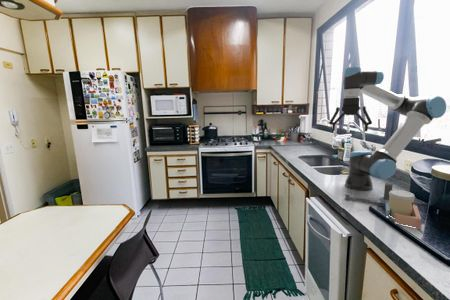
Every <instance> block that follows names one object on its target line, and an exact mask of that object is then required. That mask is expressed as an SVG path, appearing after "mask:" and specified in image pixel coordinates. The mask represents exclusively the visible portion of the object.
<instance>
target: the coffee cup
mask: <svg viewBox="0 0 450 300" xmlns="http://www.w3.org/2000/svg"><path fill="white" fill-rule="evenodd" d="M415 199H416V196H415V194H414V193H412V192H410V191H408V190H404V189H403V190H402V189H392V190H391V191H390V192H389V208H390V214H389V215H390V216H392V217H393V218H395V213H396V214H402V215H407V216H412V214H411V213H412V208H413V204H414V202H415ZM390 216H389V217H390Z"/></svg>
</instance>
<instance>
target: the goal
mask: <svg viewBox="0 0 450 300" xmlns="http://www.w3.org/2000/svg"><path fill="white" fill-rule="evenodd" d="M395 222H397V223H399V224H403V225H408V226H412V227H416V228H420V229H421V227H422V217H421V214H420V211H419V208H418V205H417V204H414V203H413V208H412V213H411V216H407V215H402V214H396V213H395V220H394V223H395Z"/></svg>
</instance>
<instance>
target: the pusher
mask: <svg viewBox="0 0 450 300" xmlns="http://www.w3.org/2000/svg"><path fill="white" fill-rule="evenodd" d="M393 187H394V186H393V183H388V182H387V183H386V182H384V192H383V197H380V198H379V202H380V203H385V206H384V208H385V217H386V216H388V217H389V218H390V216H389V214H390V208H389V192H390V191H391V190H393Z"/></svg>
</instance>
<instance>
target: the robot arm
mask: <svg viewBox="0 0 450 300" xmlns="http://www.w3.org/2000/svg"><path fill="white" fill-rule="evenodd" d="M343 77H344V78H343V80H342V85H343V100H342V107H339V106H338V107H336V109H335V112H334V114H333V116H332V117H331V119H330V121H329V122H328V124H329V125H331V126H332V132H334V135H333V137H334V138H337V130H338V125H337V123H338V122H339V121H340V120H341V119H342V118H344V116H356V117H357V118H358V119H359V120H360V122H362V123H363V125H362V126H363V127H362V139H365V137H366V136H365V134H366V132H367V131H368V129H369V125H372V124H373V122H372V119H371V118H370V116H369V114H368V111H367V107H366V106H360V98H359V97H360V96H361V95H360V94H363V95H366V96H367V97H369V98H372V99H373V100H376V101H377V102H379V103H382V104H383V105H385V106H387V107H388V109H390V110H391V111H394V112H396V113H397V114H400V115H402V116H406V118H405V119H404V120H403V122H402V123H401V124H400V125H399V127H398V128H397V129H396V130H395V132H394V133H393V134H392V136H390V138H389V139H388V140H387V141H386V143H385V144H384V145H383V146H382V147H381V149H377V150H375V151H374V152H372V150H355V151H351V152H350V154H349V168H348V169H349V170H348V175H347V177H346V179H345V183H344V185H345V187H346V188H350V189H353V190H357V191H369V190H370V191H371V190H372V189H373V186H374V185H373V181H372V178H371V177H373V178H375V179H380V180H385V179H390V178H391V177H393V175H394V174H395V173H396V170H397V162H398V161H397V158H398V156H400V154H401V153H402V151H404V149H405V148H406V147H407V146H408V145H409V143H411V141H412V140H413V139H414V137H415V136H416V135H417V134H418V133H419V131H420V130H421V129H422V127H424V126H425V125H429V124H430V123H432V121H433V120H434V119H438V118H441V117H443V116H444V115H445V113H446V111H447V102H446V100H445V99H444V98H443V97H442V96H439V95H429V96H405V95H403V94H397V93H394V92H393V91H390V90H388V89H387V88H385V87H383V86H382V85H380V84H382V82H383V81H384V79H385V78H384V77H385V74H384V72H383V71H382V70H376V69H374V70H373V69H371V70H362V67H361V66H360V65H359V66H357V65H356V66H349V67H346V68H345V71H344V76H343ZM341 110H342V111H341ZM360 110H361V111H362V112H363V114H364V116H365V118H366V120H367V121H366V120H365V118H363V116H362V115H361V114H360V113H359V111H360ZM340 111H341V112H342V113H341V115H340V116H339V117H337V115H338V114H339V113H340ZM336 117H337V118H336ZM335 119H336V120H335Z"/></svg>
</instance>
